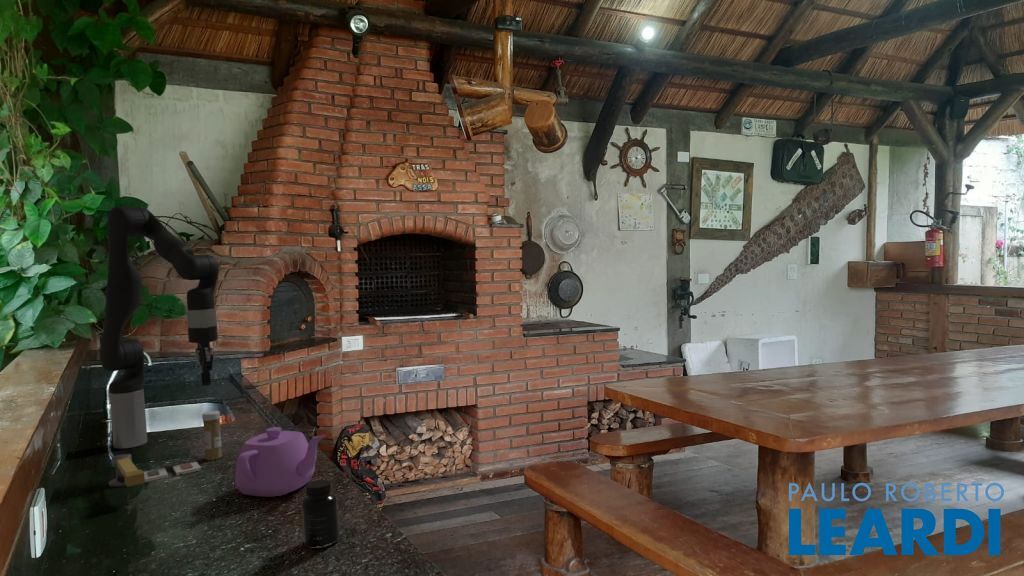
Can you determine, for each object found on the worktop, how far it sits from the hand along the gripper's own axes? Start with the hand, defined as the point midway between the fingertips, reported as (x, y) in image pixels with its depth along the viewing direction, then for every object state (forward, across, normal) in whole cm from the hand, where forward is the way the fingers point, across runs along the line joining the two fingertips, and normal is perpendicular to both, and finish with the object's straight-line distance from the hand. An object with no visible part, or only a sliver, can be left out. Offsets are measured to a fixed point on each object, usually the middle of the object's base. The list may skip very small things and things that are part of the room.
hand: (206, 384), depth 186 cm
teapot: (+21, +38, +9) cm, 45 cm away
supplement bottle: (+21, +76, +6) cm, 79 cm away
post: (+21, +6, -22) cm, 32 cm away
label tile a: (+21, +6, -15) cm, 27 cm away
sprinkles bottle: (+22, 0, +1) cm, 22 cm away
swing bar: (+17, +15, -22) cm, 31 cm away
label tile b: (+21, +6, -7) cm, 24 cm away
